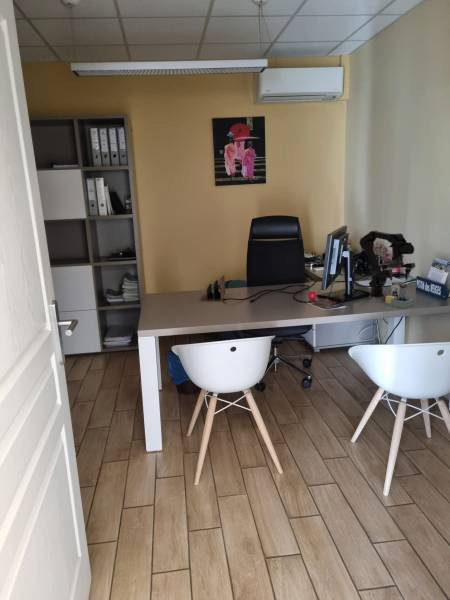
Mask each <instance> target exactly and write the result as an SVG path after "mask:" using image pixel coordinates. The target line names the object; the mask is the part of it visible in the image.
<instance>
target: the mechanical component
mask: <svg viewBox="0 0 450 600" xmlns="http://www.w3.org/2000/svg"><path fill="white" fill-rule="evenodd" d="M399 284H404V282H403V281H392V282H391V286H392V285H399ZM405 284H407V287H406V290H407V289H409V286H410V282H407V281H406V283H405ZM395 290H398V288H395Z"/></svg>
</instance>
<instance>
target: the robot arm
mask: <svg viewBox="0 0 450 600" xmlns="http://www.w3.org/2000/svg"><path fill="white" fill-rule="evenodd" d="M377 239H380V240H385V241H387V242H388V243H390V245H389V246H388V247H389V248H391V251H392V256H391V259H390V261H388V263H384V264H382V265H381V268H380V265H379V262H378V259H377V256H376V253H375V251H374V248H375V247H374V246H375V241H376V240H377ZM359 245H360V246H359V247H360V248H361V249H362V250H363V251H365V253H366V257H367V260H368V263H369V265H370V269H371V271H372V273H371V280H369V283H368V284H369V287H371V288H370V289H371V290H370V293H369V296H373V297H382V296H384V295H385V294H384V288H383V287H384V286H385V285H386V282H387V280H388V278H387V277H389V280H390V281H392V282H393V269H396V268H397V269H398V268H399V269H400V268H404V272H405V281H408V278H409V276H410V274H411V271H412V270H414V268H416V263H415V262H407V263H405V262H404V257H405V256H404V255H412V254H414V253H415V247H414V245H413V244H412V242H411V241H409V242H407V240H406V238H405V237H404V235H403V233H401V232H400V233H399V232H398V233H389V232H383V231H379V230H371V231H369V232H368V233H367V234H365V235H364V236H363V237H361V238H360V239H359ZM382 270H383V271H382ZM386 273H387V274H386ZM387 275H388V276H387Z"/></svg>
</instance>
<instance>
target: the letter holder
mask: <svg viewBox="0 0 450 600" xmlns="http://www.w3.org/2000/svg"><path fill="white" fill-rule="evenodd" d="M225 280H226V279H225V275H222V276H221V277H220V279H216V280H215V281H214V282H213V284H212V283H211V282H210V284H208V286H207V288H206V293H205V294H206V296H205V297H206V302H223V299H224V298H223V297H225V296H226V294H227V293H226V283H225ZM224 295H225V296H224Z"/></svg>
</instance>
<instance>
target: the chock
mask: <svg viewBox="0 0 450 600" xmlns="http://www.w3.org/2000/svg"><path fill="white" fill-rule="evenodd" d="M395 298H397V297H395V296H391V294H390V295H385V304H390V305H391V299H395Z"/></svg>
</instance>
